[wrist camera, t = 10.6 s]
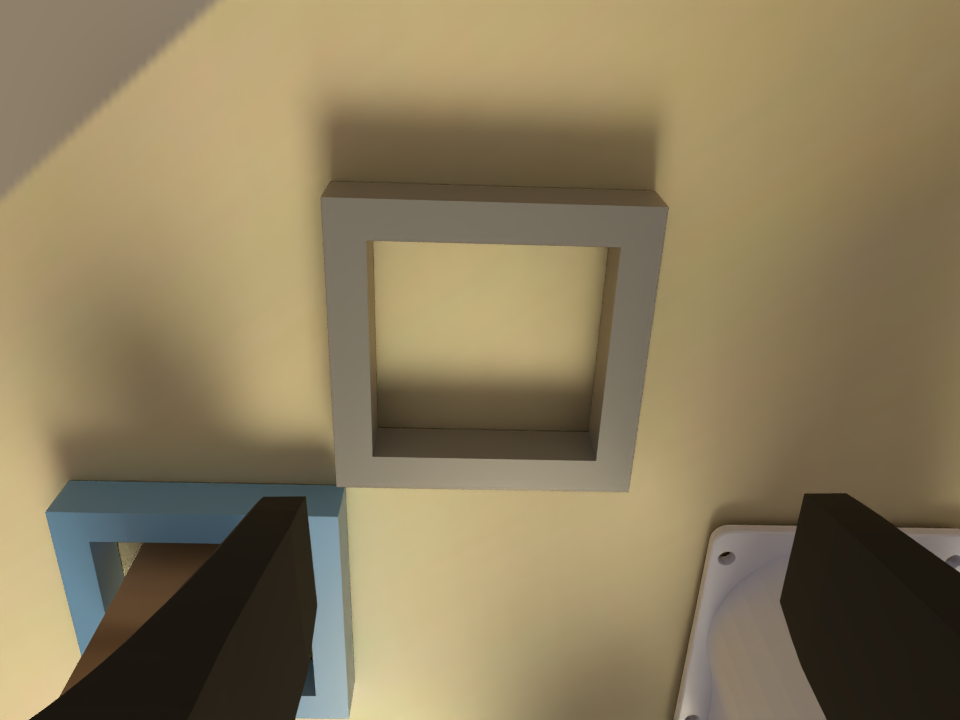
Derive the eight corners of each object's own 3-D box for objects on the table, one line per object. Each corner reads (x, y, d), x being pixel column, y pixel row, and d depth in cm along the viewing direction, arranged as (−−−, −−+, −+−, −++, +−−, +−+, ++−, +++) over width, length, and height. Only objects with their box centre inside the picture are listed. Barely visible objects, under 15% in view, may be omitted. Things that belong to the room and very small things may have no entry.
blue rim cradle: (354, 681, 27) (348, 718, 26) (115, 678, 27) (96, 716, 26) (345, 485, 24) (338, 517, 22) (69, 480, 23) (45, 511, 22)
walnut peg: (292, 632, 26) (228, 884, 19) (168, 631, 26) (58, 884, 19) (282, 534, 25) (207, 770, 17) (149, 533, 24) (18, 771, 17)
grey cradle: (619, 462, 24) (629, 492, 22) (343, 456, 23) (336, 487, 22) (655, 190, 20) (668, 207, 19) (330, 181, 20) (320, 197, 18)
